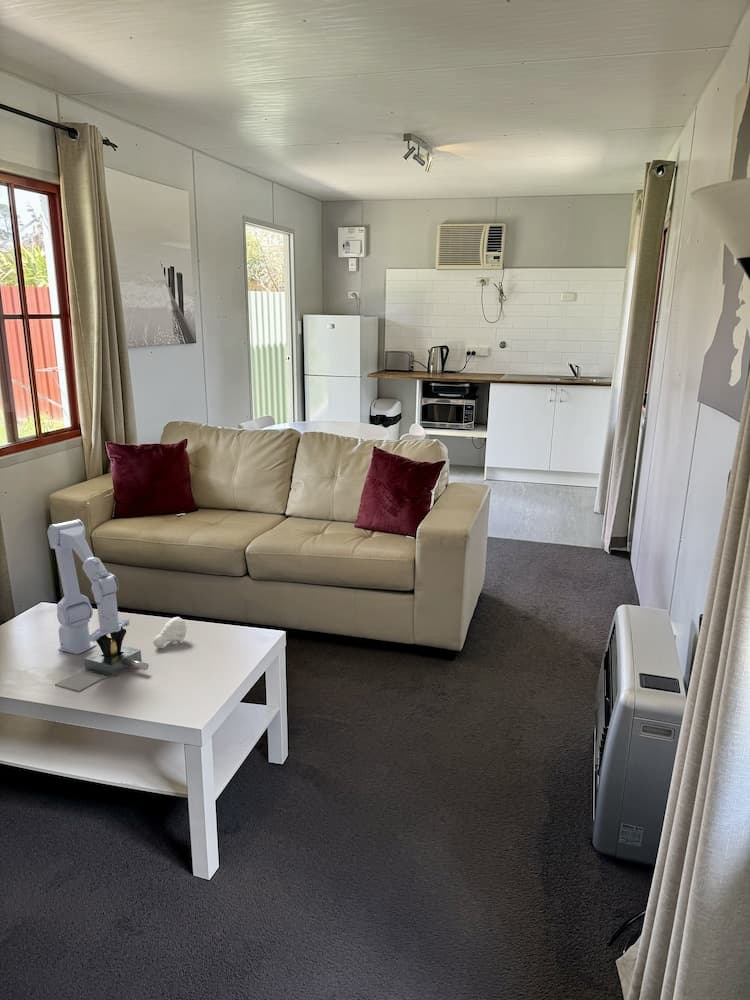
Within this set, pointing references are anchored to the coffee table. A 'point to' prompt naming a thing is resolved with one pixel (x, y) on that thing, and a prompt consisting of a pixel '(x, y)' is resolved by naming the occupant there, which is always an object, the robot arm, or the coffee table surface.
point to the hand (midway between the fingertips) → (112, 654)
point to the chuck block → (114, 662)
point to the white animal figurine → (171, 632)
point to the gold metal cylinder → (113, 648)
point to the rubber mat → (80, 681)
